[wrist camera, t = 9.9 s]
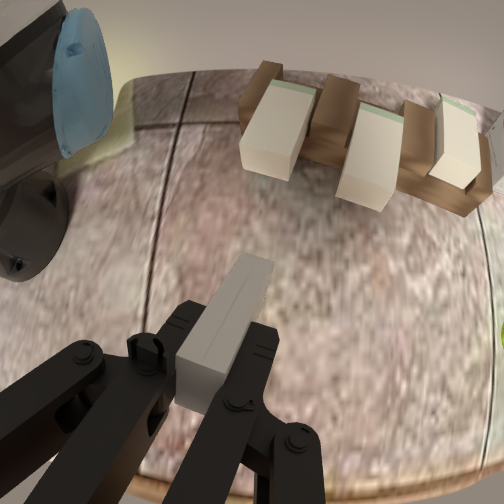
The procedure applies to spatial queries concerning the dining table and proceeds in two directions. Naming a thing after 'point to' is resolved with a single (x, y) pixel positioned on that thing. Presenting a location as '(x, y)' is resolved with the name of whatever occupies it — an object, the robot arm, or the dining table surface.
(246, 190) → the dining table surface
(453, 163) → the button
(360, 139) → the button middle
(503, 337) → the soap dispenser
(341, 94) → the brown wooden slotted rack
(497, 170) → the supplement box
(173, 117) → the dining table surface
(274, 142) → the button
